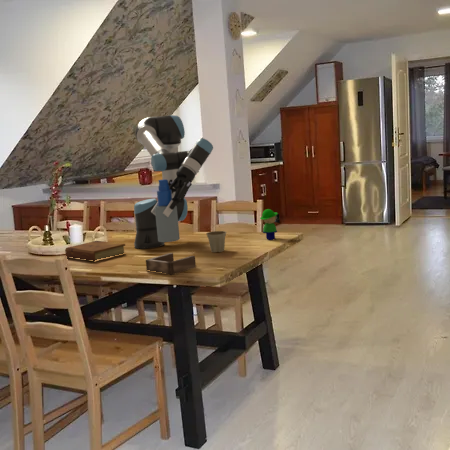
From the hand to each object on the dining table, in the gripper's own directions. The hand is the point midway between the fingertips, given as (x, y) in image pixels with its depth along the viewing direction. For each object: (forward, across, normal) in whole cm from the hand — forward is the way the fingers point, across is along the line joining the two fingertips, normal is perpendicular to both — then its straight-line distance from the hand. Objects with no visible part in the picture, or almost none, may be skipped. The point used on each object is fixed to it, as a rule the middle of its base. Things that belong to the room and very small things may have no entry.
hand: (159, 214), depth 245 cm
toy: (-32, +12, -66) cm, 74 cm away
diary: (+20, +57, -15) cm, 62 cm away
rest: (+14, 0, -19) cm, 24 cm away
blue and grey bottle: (+6, 0, -10) cm, 12 cm away
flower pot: (-9, +12, -43) cm, 45 cm away
